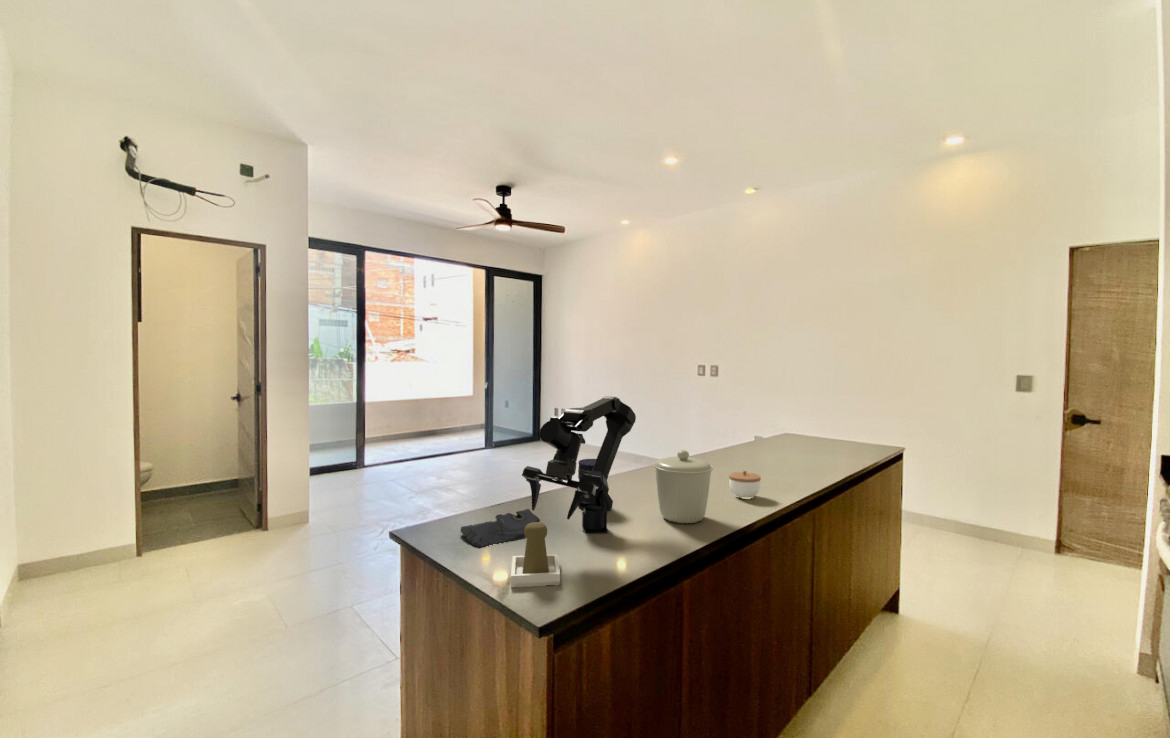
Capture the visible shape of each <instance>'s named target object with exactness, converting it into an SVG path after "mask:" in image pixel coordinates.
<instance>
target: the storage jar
mask: <svg viewBox="0 0 1170 738" xmlns="http://www.w3.org/2000/svg"><path fill="white" fill-rule="evenodd" d="M596 459H597V458H584V459H580V460H578V469H577V470H578V471H577V473H578V475H577V477H578V481H579V480H580V479H581V478H582V476H583V474H587V475H588V474H590V473H591V471H592V469H593V466H594V464H595V461H596ZM608 477H609V476H608ZM608 477H607V480H608ZM577 509H579V510H581V511H584V508H582V507H581V508H580V507H579V506H578V507H577Z"/></svg>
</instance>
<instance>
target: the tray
mask: <svg viewBox="0 0 1170 738" xmlns="http://www.w3.org/2000/svg"><path fill="white" fill-rule="evenodd" d="M524 556H525V555H512V556H511V557H512V559H511V568H510V569H511V571H510V588H529V587H547V586H546V585H555V586H561V571H560V564H559V555H558V554H556V553H554V554H553V553H552V554H547V560H548V568H549V573H532V574H523V573H522V572H523V564H524Z"/></svg>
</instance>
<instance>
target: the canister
mask: <svg viewBox="0 0 1170 738" xmlns="http://www.w3.org/2000/svg"><path fill="white" fill-rule="evenodd" d="M652 465H653V467H654V469H655V477H656V479H655V480H656V489H657V497H658V498H657V499H658V506H659V511H660V513H661V516H662V517H663V518H664V519H665V520H667V521H669V522H671V523H676V522H677V524H685V523H686V524H688V523H689V524H694V523H698V521H699V522H700V521H702V520H703V519H704V517H705V515H706V512H707V511H706V510H707V506H708V499H709V491H710V482H711V477H712V476H711V474H712V471H713V470H714V466H713V464H710V463H709V462H708V461H707V460H704V459H701V458H697V457H690V453H689V451H687V450H685V449H684V450H683V449H680V450H679V451H678V452H677V456H667V457H663V458H660V459H658V460H657V461H655V462H653V464H652Z"/></svg>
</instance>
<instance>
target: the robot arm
mask: <svg viewBox="0 0 1170 738" xmlns="http://www.w3.org/2000/svg"><path fill="white" fill-rule="evenodd" d="M602 417H604V418H605V425H606V429H607V430H606V434H605V436H604V439H603V441H602V444H601V446H600V449H599V451H598V454H597V456H596V458H595V459H596V461H595V464H594V466H593V469H592V471H591V473H590V474H588V475H587V474H583V476H582V478H581V479H580V480H579V479H578V480H573V476H575V474H576V470H577V465H578V464H577V460H578V455H579V453H580V449H581V445H582V444H583V445H584V444H586V439H585V437H584V435H583V433H585V432H587V431H589V430H590V429H591V428H593V426H594V422H595V421H596V420H598V419H600V418H602ZM636 419H637V418H636V413H635V412H634V410H633V409H632V407H631V406H629V405H628V404H626V403H624V402H622V401H621V399H620V398H619V397H617V396H603V397H601V398H600V399H598V400H596V401H594V402H592V403H590V404H588V405H586V406H582V407H571V408H566V409H565V410H564V411H563V413H562V414H561V415H560V416H559V417H557V416H550V418H549V421H546V422H544V424H543V425H542V426H541V427H540V429H539V433H538V434H539V439H540V440H541V441H542V442H543V443H545V444H547V445H549V446H550V447H551V448H554V449H556V452H555V454H554V456H553V459H551V460H548V461H547V465H546V470H545V473H544V472H543V471H542V470H541V469H540V468H538V467H534V466H529V465H527V466H526V467H524V468H523V471H522V474H521V476H522V477H523V478H524V479H525V481H526V482H527V483H528V484H529V486H530V491H531V492H530V493H531V510H532V511H533V512H534V511H535V509H536V507H537V503H538V501H539V500H538V499H539V495H540V492H541V487H542V485H541V483H540V482H541V481H543V482H548V483H552V484H555V485H560V486H563V487H564V486H565V487H567V488H572V489H575V490H574V495H573V499H572V502H571V504H570V507H569V509H568V512H567V515H566V516H567V518H566V520H570V519H571V517H572V515H573V514H574V513H575V511H576V510H577V509H578V506H579V507H580V508H581V507H582V508H584V510H583V511H582V512H581V527H582V529H583V530H584V533H585V534H599V533H603V534H605V533H609V530H608V524H607V523H608V512H611V511H612V508H613V504H614V500H613V499H612V498H611V496H610V495H609V490H610V489H609V484H608V479H607V477H609V474H610V472H611V468H612V466H613V465H614V464H613V463H614V461H615V458H616V456H617V453H618V450H619V448H620V445H621V442H622V439H623V438H624V437H625V436H626V435H628V433H630V432H631V430H632V428H633V426H634V424H635V423H636ZM576 432H583V433H576Z"/></svg>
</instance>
